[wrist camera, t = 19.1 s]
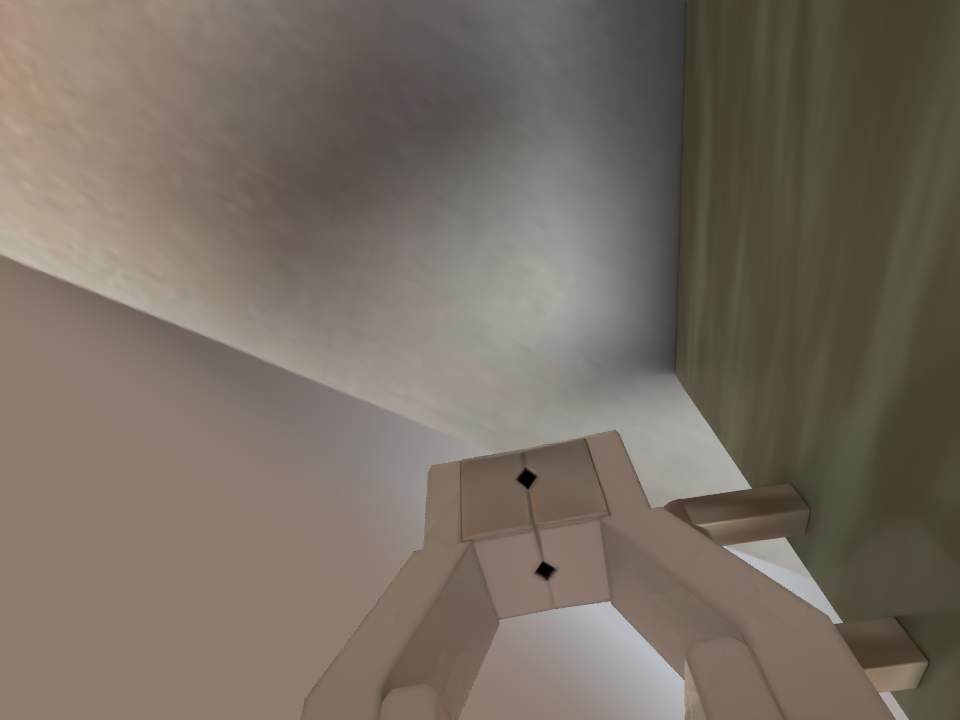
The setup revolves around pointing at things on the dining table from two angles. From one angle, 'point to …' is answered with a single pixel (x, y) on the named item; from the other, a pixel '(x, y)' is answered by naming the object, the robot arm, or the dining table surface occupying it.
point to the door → (833, 309)
